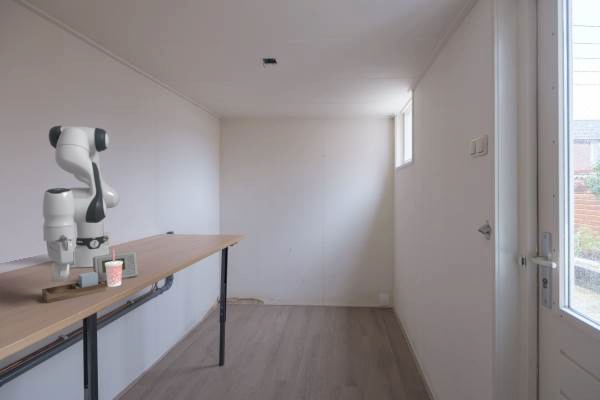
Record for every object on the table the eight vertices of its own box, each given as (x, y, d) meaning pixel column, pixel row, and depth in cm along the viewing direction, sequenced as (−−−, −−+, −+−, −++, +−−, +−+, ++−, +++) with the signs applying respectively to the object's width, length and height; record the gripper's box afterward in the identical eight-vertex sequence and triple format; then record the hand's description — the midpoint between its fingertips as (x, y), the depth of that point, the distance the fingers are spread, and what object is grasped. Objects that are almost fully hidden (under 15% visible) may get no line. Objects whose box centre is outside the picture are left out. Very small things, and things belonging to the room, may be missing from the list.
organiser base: (42, 296, 108) (42, 289, 108) (98, 285, 121) (97, 278, 121) (47, 303, 102) (47, 294, 102) (105, 290, 115) (105, 283, 114)
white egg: (50, 279, 108) (49, 262, 108) (67, 276, 112) (67, 260, 111) (53, 282, 104) (52, 265, 104) (71, 279, 108) (70, 262, 108)
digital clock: (92, 284, 122) (91, 258, 122) (94, 279, 130) (93, 254, 129) (138, 278, 130) (138, 253, 130) (137, 273, 138) (137, 250, 137)
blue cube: (78, 287, 114) (78, 274, 114) (94, 284, 118) (93, 271, 118) (82, 290, 111) (81, 276, 111) (98, 287, 115) (97, 273, 114)
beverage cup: (110, 282, 124) (109, 248, 124) (126, 282, 125) (125, 248, 124) (101, 287, 118) (101, 251, 118) (118, 287, 118) (117, 251, 118)
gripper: (78, 236, 103) (79, 276, 103) (64, 231, 117) (65, 267, 117) (54, 238, 98) (55, 281, 99) (42, 233, 112) (43, 270, 112)
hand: (60, 273), depth 108 cm, fingers closed on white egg, 5 cm apart
